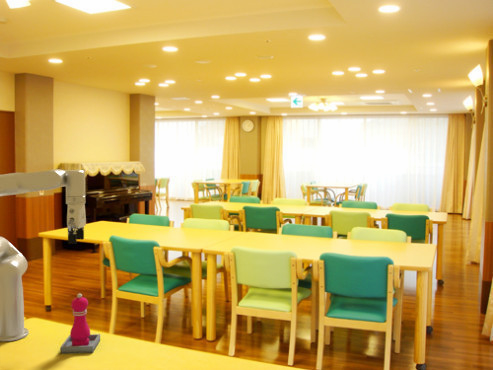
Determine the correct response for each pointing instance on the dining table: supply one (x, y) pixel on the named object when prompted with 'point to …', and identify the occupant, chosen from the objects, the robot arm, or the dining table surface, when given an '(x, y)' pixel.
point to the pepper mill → (80, 322)
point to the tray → (90, 348)
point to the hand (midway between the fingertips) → (76, 241)
